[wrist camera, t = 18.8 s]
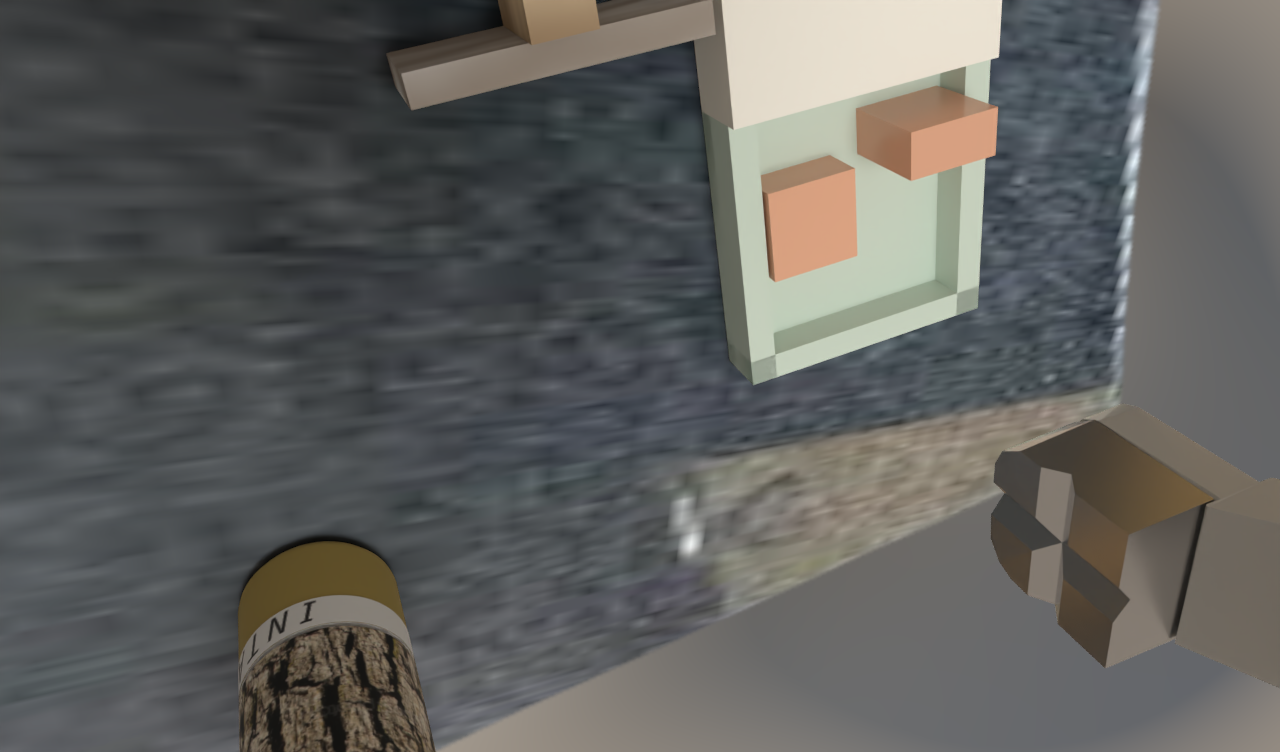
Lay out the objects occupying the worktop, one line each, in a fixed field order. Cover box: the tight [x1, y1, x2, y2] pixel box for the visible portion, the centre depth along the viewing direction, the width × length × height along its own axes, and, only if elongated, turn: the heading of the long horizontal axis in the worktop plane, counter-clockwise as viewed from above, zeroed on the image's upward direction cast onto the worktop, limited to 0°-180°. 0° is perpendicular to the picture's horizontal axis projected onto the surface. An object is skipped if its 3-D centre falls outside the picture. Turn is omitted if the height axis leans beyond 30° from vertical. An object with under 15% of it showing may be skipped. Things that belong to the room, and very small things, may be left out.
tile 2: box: [856, 86, 998, 181], centre depth 40 cm, size 4×4×2 cm
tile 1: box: [761, 155, 857, 282], centre depth 41 cm, size 4×4×2 cm
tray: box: [702, 59, 991, 385], centre depth 42 cm, size 12×12×2 cm
